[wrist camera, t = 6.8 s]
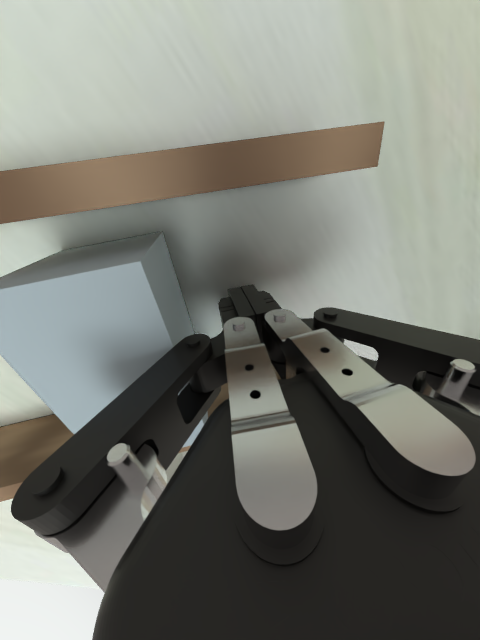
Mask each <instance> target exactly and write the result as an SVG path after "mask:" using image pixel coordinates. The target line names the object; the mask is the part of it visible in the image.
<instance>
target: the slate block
mask: <svg viewBox="0 0 480 640" xmlns="http://www.w3.org/2000/svg"><path fill="white" fill-rule="evenodd" d="M193 334H195V333H194V330H193V327H192V324H191V321H190V317H189V314H188V311H187V308H186V305H185V302H184V298H183V295H182V292H181V289H180V286H179V282H178V279H177V276H176V273H175V270H174V267H173V263H172V260H171V257H170V254H169V251H168V248H167V244H166V241H165V238H164V235H163V232H157V233H152V234H147V235H141V236H136V237H131V238H126V239H121V240H115V241H110V242H105V243H100V244H94V245H89V246H84V247H79V248H73V249H68V250H63V251H60V252H58V253H55V254H53V255H51V256H48V257H46V258H44V259H42V260H39V261H37V262H35V263H32V264H30V265H28V266H26V267H23V268H21V269H19V270H16V271H14V272H12V273H9V274H7V275H5V276H3V277H0V355H1V356H2V357H3V358H4V359H5V360H6V362H7V363H8V364H9V365H10V366H11V367H12V368H13V369H14V370H15V371H16V372H17V373H18V375H19V376H20V377H21V378H22V379H23V380H24V381H25V382H26V383H27V384H28V385H29V386H30V387H31V389H32V390H33V391H34V392H35V393H36V394H37V395H38V396H39V397H40V398H41V399H42V400H43V402H44V403H45V404H46V405H47V406H48V407H49V408H50V409H51V410H52V411H53V412H54V413H55V415H56V416H57V417H58V418H59V419H60V420H61V421H62V422H63V423H64V424H65V425H66V426H67V428H68V429H69V430H70V431H71V432H72V433H73V434H75V433H77V432H78V431H79V430H80V429H81V428H82V427H83V426H84V425H86V424H87V423H88V422H89V421H90V420H91V419H92V418H94V417H95V416H96V415H97V414H98V413H99V412H100V411H101V410H103V409H104V408H105V407H106V406H107V405H108V404H109V403H111V402H112V401H113V400H114V399H115V398H116V397H117V396H118V395H120V394H121V393H122V392H123V391H124V390H125V389H126V388H128V387H129V386H130V385H131V384H132V383H133V382H134V381H135V380H137V379H138V378H139V377H140V376H141V375H142V374H143V373H145V372H146V371H147V370H148V369H149V368H150V367H151V366H152V365H154V364H155V363H156V362H157V361H158V360H159V359H160V358H162V357H163V356H164V355H165V354H166V353H167V352H168V351H169V350H171V349H172V348H173V347H174V346H175V345H176V344H177V343H179V342H180V341H181V340H182V339H183V338H185V337H187V336H190V335H193ZM188 383H189V381H188V382H187V383H186V385H185V386H184V387H183V388H182V389H181V390H180V392H179V394H180V393H181V391H182V390H183V389H184V388H185V387H186V386H187V385H188ZM179 394H178V395H179ZM207 419H208V412H206V414H205V415H204V417H203V418H202V419H201V421H200V422H199V424H198V425H197V427H196V428H195V430H194V431H193V432H192V434H191V435H190V437H189V438H188V440H187V441H186V443H185V444H184V445H183V447H187V446H190V445H192V443H193V442H194V440H195V439H196V437H197V435H198V434H199V432H200V431H201V429H202V427H203V426H204V424H205V423H206V421H207ZM183 447H182V448H183Z"/></svg>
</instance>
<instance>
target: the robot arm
mask: <svg viewBox="0 0 480 640" xmlns="http://www.w3.org/2000/svg"><path fill="white" fill-rule="evenodd" d="M228 295H229V297H228V298H223V299H220V301H219V303H218V305H219V310H220V316H221V321H222V326H223V331H222V332H221V333H220V334H219V335H218V336H216V337H214V338H211V339H210V338H209V337H208V336H207V335H204V334H193V335H190V336H187V337H185V338H183V339H182V340H181V341H180V342H179V343H177V344H176V345H175V346H174V347H173V348H172V349H171V350H169V351H168V352H167V353H166V354H165V355H164V356H163V357H162V358H160V359H159V360H158V361H157V362H156V363H155V364H154V365H152V366H151V367H150V368H149V369H148V370H147V371H146V372H145V373H143V374H142V375H141V376H140V377H139V378H138V379H137V380H135V381H134V382H133V383H132V384H131V385H130V386H129V387H128V388H126V389H125V390H124V391H123V392H122V393H121V394H120V395H118V396H117V397H116V398H115V399H114V400H113V401H112V402H111V403H109V404H108V405H107V406H106V407H105V408H104V409H103V410H101V411H100V412H99V413H98V414H97V415H96V416H95V417H94V418H92V419H91V420H90V421H89V422H88V423H87V424H86V425H84V426H83V427H82V428H81V429H80V430H79V431H78V432H77V433H75V434H74V435H73V436H72V437H71V438H70V439H69V440H67V441H66V442H65V443H64V444H63V445H62V446H61V447H60V448H58V449H57V450H56V451H55V452H54V453H53V454H52V455H50V456H49V457H48V458H47V459H46V460H45V461H44V462H42V463H41V464H40V465H39V466H38V467H37V468H36V469H35V470H34V471H33V472H31V473H30V474H29V476H28V477H27V478H26V479H25V480H24V481H23V483H22V484H21V485H20V487H19V488H18V490H17V492H16V494H15V496H14V498H13V501H12V505H11V512H12V515H13V517H14V518H15V519H17V520H18V521H20V522H22V523H23V524H25V525H26V526H28V527H30V528H31V529H33V530H34V532H35V533H36V535H37V536H39V537H41V538H42V539H44V540H45V541H47V542H49V543H50V544H52V545H54V546H55V547H57V548H59V549H60V550H62V551H64V552H66V553H70V554H71V555H72V557H73V558H74V559H75V560H76V561H77V562H78V563H79V564H80V566H81V567H82V568H83V569H84V570H85V571H86V572H87V573H88V575H89V576H90V577H91V578H92V579H93V580H94V581H95V582H96V583H97V585H98V586H99V587H100V588H101V589H102V590H103V591H104V592H105V594H104V597H103V599H102V602H101V605H100V609H99V612H98V616H97V620H96V624H95V628H94V633H93V639H92V640H480V340H477V339H473V338H468V337H464V336H459V335H454V334H450V333H445V332H441V331H436V330H432V329H427V328H423V327H418V326H414V325H409V324H405V323H400V322H396V321H391V320H387V319H382V318H378V317H373V316H369V315H364V314H360V313H355V312H351V311H346V310H342V309H337V308H321V309H318V310H316V311H315V312H314V318H309V319H300V318H299V317H297V316H296V315H295V314H294V313H293V312H292V311H290V310H286V309H282V308H281V307H280V306H279V305H278V303H277V302H276V301H275V300H274V298H273V297H272V296H271V295H270V293H267V292H265V291H259V292H258V291H257V289H256V288H255V286H254V285H248V286H242V287H237V288H232V289H228ZM344 339H347V340H350V341H354V342H357V343H360V344H364V345H367V346H370V347H373V348H374V349H375V350H376V351H377V352H378V355H379V356H378V360H377V361H373V360H370V359H367V358H364V357H361V356H358V355H356V354H355V353H354V352H353V351H351V350H350V349H349V348H348V347H347V346H345V345H344ZM188 381H189V383H188V385H187V386H186V387H185V388H184V389H183V390H182V391H181V393H180V394H179V392H180V390H181V389H182V388H183V387H184V386H185V385H186V383H187V382H188ZM226 383H228V391H229V398H228V399H226V400H225V401H224V402H222V403H221V404H220V405H219V406H218V407H217V408H216V409H215V410H214V411H213V412H212V414H211V415H210V416H209V418H208V419H207V421H206V423H205V424H204V426H203V427H202V429H201V431H200V432H199V434H198V435H197V437H196V439H195V440H194V442H193V443H192V445H191V447H190V448H189V450H188V452H187V453H186V455H185V456H184V458H183V460H182V461H181V463H180V464H179V466H178V468H177V469H176V471H175V472H174V474H173V476H172V477H171V479H170V480H169V482H168V484H167V474H166V470H167V469H168V467H169V466H170V464H171V463H172V461H173V460H174V458H175V457H176V456H177V454H178V453H179V451H180V450H181V448H182V447H183V445H184V444H185V443H186V441H187V440H188V438H189V437H190V435H191V434H192V432H193V431H194V430H195V428H196V427H197V425H198V424H199V422H200V421H201V419H202V418H203V417H204V415H205V414H206V412H207V411H208V409H209V408H210V406H211V405H212V404H213V402H214V401H215V399H216V398H217V396H218V395H219V393H220V391H221V386H222V385H224V384H226ZM178 394H179V395H178Z"/></svg>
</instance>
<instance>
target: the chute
mask: <svg viewBox="0 0 480 640" xmlns="http://www.w3.org/2000/svg"><path fill="white" fill-rule="evenodd" d="M383 128H384V122H377V123H369V124H361V125H354V126H346V127H338V128H331V129H323V130H315V131H308V132H300V133H292V134H284V135H277V136H269V137H261V138H254V139H246V140H238V141H231V142H223V143H215V144H207V145H200V146H192V147H184V148H177V149H169V150H161V151H154V152H146V153H138V154H131V155H123V156H115V157H107V158H100V159H92V160H84V161H77V162H69V163H61V164H54V165H46V166H38V167H30V168H23V169H15V170H7V171H0V224H3V223H10V222H16V221H23V220H30V219H36V218H43V217H49V216H56V215H62V214H69V213H75V212H82V211H89V210H95V209H102V208H108V207H115V206H121V205H128V204H134V203H141V202H148V201H154V200H161V199H167V198H174V197H180V196H187V195H193V194H200V193H207V192H213V191H220V190H226V189H233V188H239V187H246V186H252V185H259V184H266V183H272V182H279V181H285V180H292V179H298V178H305V177H311V176H318V175H325V174H331V173H338V172H344V171H351V170H357V169H364V168H370V167H377V166H378V160H379V154H380V147H381V141H382V134H383ZM228 398H229V391H228V383H226V384H224V385H222V386H221V391H220V393H219V395H218V396H217V398H216V399H215V401H214V402H213V404H212V405H211V406H210V408H209V409H208V411H207V412H208V418H209V416H210V415H211V414H212V412H213V411H214V410H215V409H216V408H217V407H218V406H219V405H220V404H221V403H222V402H224V401H225V400H226V399H228ZM73 435H74V434H73V433H72V432H71V431H70V430H69V429H68V428H67V426H66V425H65V424H64V423H63V422H62V421H61V420H60V419H59V418H58V417H57V416H56V415H55V414H53V415H49V416H45V417H41V418H36V419H32V420H28V421H24V422H20V423H16V424H11V425H7V426H3V427H0V502H1V501H5V500H9V499H12V498H14V496H15V494H16V492H17V490H18V488H19V487H20V485H21V484H22V483H23V481H24V480H25V479H26V478H27V477H28V476H29V474H30V473H31V472H33V471H34V470H35V469H36V468H37V467H38V466H39V465H40V464H41V463H42V462H44V461H45V460H46V459H47V458H48V457H49V456H50V455H52V454H53V453H54V452H55V451H56V450H57V449H58V448H60V447H61V446H62V445H63V444H64V443H65V442H66V441H67V440H69V439H70V438H71V437H72V436H73ZM190 447H191V445H190V446H187V447H183V448H181V450H180V451H179V453H181V452H185V451H188V450H189V448H190Z"/></svg>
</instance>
